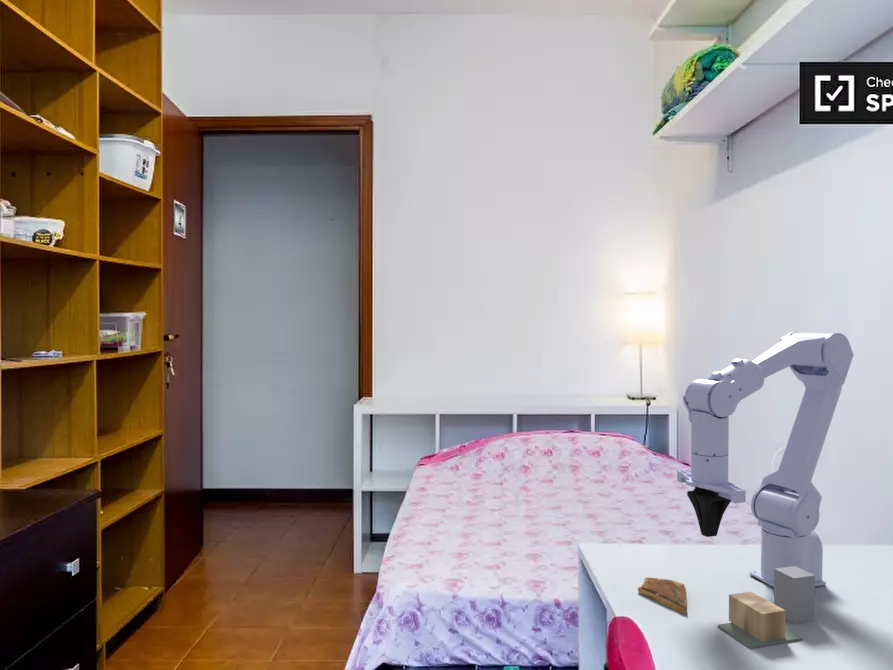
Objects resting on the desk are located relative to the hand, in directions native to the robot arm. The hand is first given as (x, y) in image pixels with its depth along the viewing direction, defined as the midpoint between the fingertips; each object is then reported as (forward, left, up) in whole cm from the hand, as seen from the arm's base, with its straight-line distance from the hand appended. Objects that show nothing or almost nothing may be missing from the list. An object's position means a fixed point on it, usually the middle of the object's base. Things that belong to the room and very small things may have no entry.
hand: (709, 535), depth 114 cm
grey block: (-8, +10, -10) cm, 16 cm away
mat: (+1, +13, -10) cm, 17 cm away
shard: (+5, -2, -11) cm, 12 cm away
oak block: (+1, +9, -8) cm, 12 cm away
